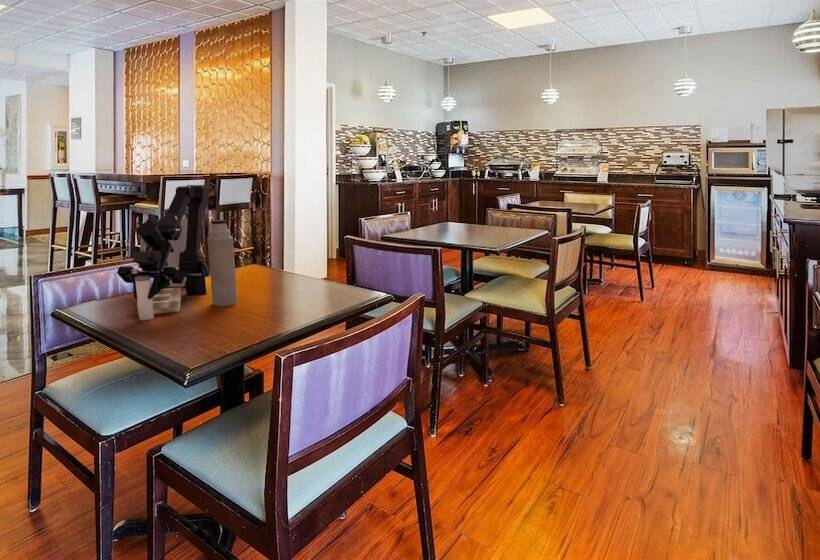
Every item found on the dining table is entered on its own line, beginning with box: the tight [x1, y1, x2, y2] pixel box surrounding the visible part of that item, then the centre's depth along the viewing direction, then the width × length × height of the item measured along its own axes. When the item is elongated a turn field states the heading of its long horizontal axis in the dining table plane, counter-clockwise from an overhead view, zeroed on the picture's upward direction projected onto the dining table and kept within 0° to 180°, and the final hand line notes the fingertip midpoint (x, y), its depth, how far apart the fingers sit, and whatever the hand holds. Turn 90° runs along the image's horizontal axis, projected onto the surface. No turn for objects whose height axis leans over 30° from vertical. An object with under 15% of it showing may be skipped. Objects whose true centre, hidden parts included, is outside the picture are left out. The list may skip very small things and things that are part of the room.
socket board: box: [136, 287, 183, 316], centre depth 179 cm, size 12×20×5 cm, turn 20°
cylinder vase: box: [156, 218, 188, 288], centre depth 209 cm, size 12×12×25 cm
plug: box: [135, 275, 155, 321], centre depth 163 cm, size 4×4×13 cm
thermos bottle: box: [206, 219, 238, 307], centre depth 180 cm, size 8×8×28 cm
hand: (142, 298), depth 162 cm, fingers closed on plug, 4 cm apart
